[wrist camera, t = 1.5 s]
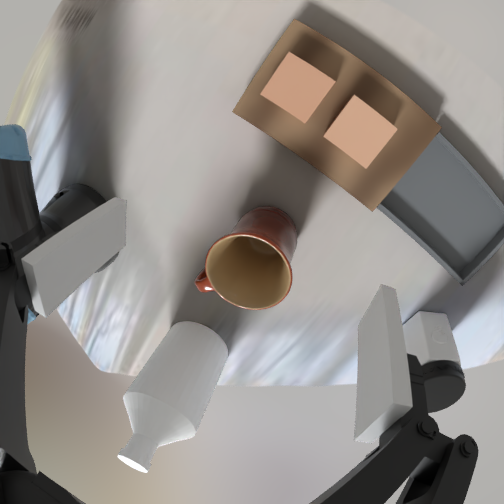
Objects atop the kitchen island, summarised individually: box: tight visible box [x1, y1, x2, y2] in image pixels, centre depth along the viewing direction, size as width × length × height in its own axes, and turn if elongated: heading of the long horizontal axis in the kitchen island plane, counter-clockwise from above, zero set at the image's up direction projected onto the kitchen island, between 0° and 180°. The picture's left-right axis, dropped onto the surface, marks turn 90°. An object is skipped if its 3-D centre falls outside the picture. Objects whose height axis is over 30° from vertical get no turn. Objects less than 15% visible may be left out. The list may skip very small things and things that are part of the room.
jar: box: [402, 311, 466, 413], centre depth 35 cm, size 9×8×12 cm
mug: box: [195, 206, 297, 310], centre depth 36 cm, size 12×9×10 cm
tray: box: [377, 132, 504, 286], centre depth 31 cm, size 16×11×2 cm
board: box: [232, 19, 442, 212], centre depth 29 cm, size 18×12×3 cm, turn 59°
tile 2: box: [260, 52, 336, 124], centre depth 26 cm, size 5×5×2 cm
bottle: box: [118, 321, 228, 472], centre depth 43 cm, size 12×12×25 cm
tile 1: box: [323, 95, 398, 169], centre depth 27 cm, size 5×5×2 cm
